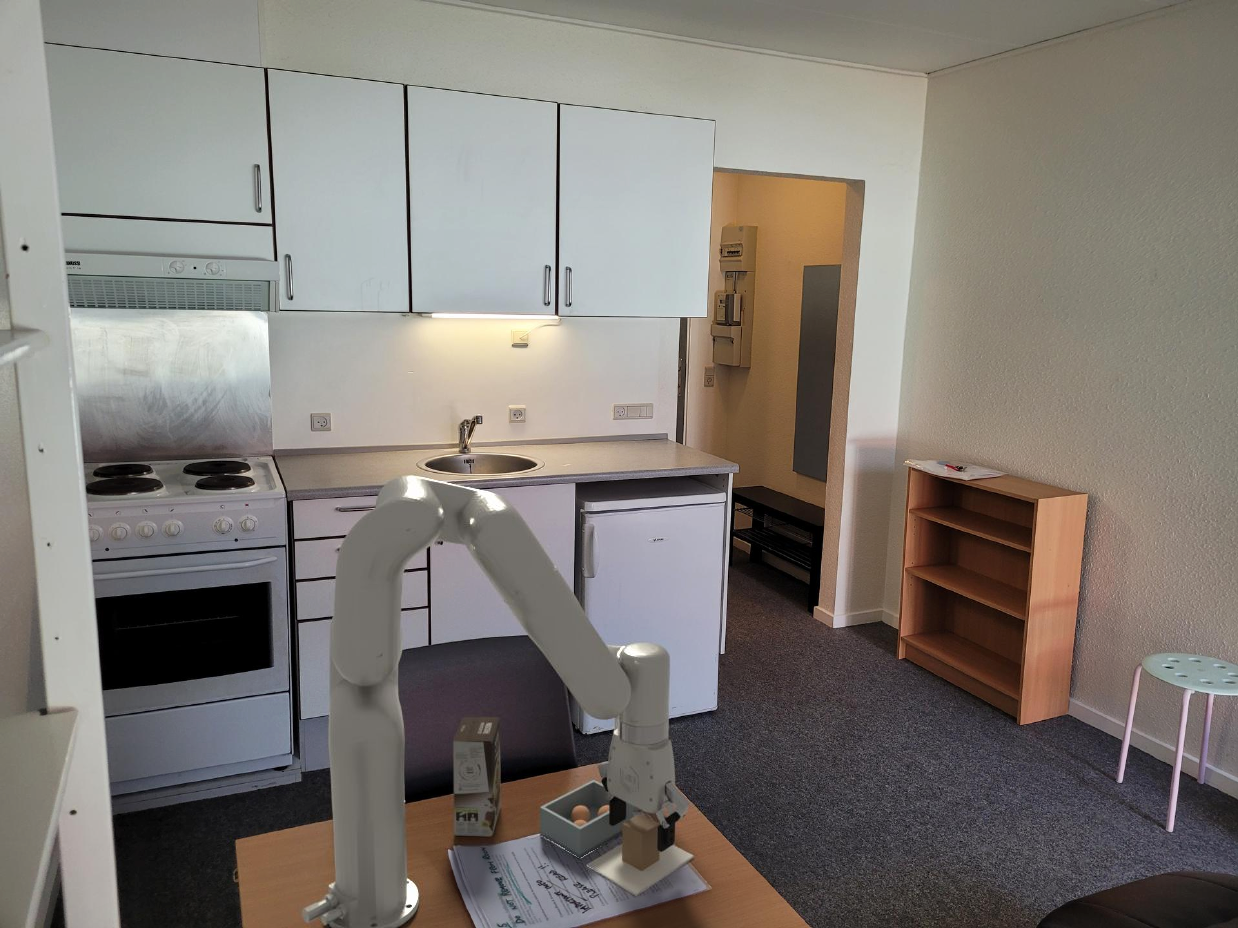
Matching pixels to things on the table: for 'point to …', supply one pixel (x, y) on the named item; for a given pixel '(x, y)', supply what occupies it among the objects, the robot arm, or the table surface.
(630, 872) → the lid
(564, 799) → the box
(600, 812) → the ball
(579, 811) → the ball
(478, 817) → the coffee box
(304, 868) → the table surface
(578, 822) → the ball
